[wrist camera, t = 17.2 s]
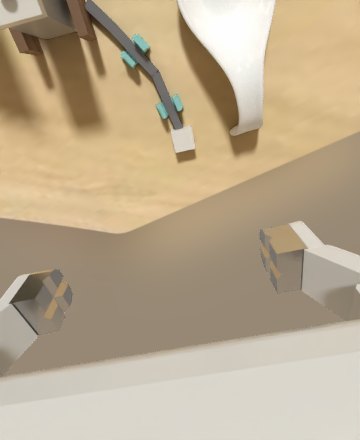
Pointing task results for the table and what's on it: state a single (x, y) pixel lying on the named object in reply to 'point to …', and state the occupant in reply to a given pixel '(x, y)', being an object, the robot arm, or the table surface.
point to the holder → (81, 21)
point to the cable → (180, 134)
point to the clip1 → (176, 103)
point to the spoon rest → (235, 48)
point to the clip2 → (140, 45)
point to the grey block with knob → (37, 17)
